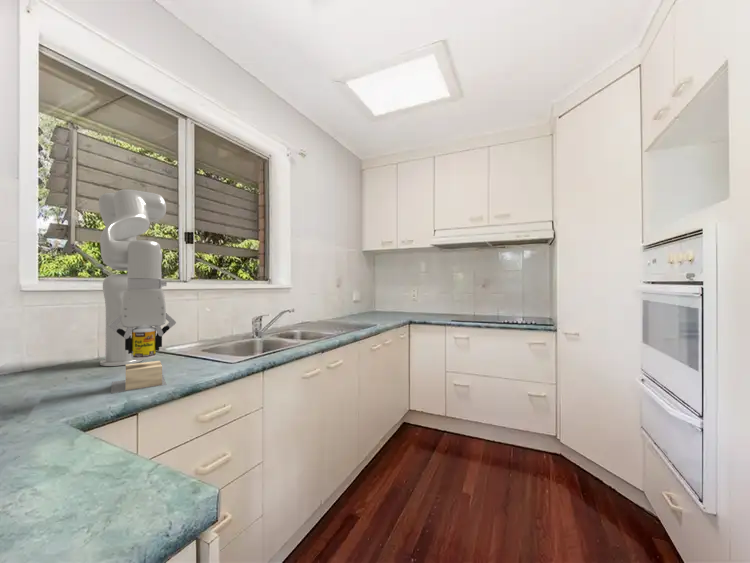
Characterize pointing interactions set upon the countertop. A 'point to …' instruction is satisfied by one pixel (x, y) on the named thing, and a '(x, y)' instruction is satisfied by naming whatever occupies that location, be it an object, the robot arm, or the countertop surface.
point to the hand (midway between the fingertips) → (143, 350)
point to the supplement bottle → (143, 342)
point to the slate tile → (121, 387)
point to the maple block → (143, 374)
